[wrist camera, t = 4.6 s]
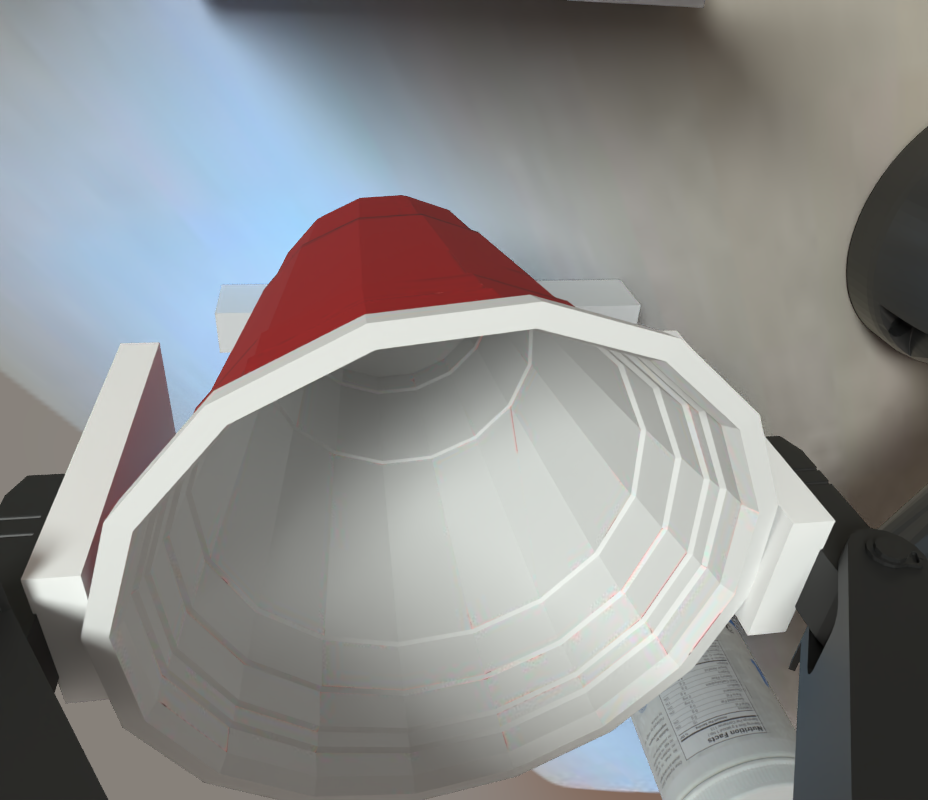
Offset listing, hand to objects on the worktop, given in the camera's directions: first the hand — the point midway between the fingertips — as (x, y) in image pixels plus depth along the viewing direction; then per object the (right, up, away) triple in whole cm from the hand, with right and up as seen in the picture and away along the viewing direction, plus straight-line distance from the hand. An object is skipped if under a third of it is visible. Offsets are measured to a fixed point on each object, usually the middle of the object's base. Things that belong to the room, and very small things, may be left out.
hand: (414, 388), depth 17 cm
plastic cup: (-1, +3, +4) cm, 5 cm away
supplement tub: (+16, -18, +40) cm, 46 cm away
